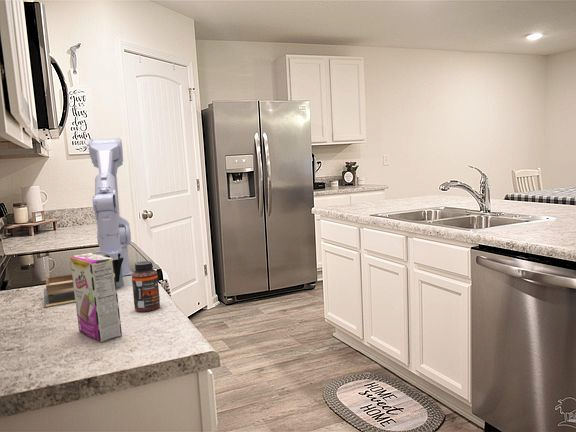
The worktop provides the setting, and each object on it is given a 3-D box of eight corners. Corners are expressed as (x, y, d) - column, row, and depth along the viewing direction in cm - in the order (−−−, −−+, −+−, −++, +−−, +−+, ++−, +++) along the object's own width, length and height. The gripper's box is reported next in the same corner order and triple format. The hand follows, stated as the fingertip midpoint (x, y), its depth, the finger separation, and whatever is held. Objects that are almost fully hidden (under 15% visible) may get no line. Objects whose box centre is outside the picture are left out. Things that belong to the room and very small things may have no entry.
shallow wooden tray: (48, 294, 134) (46, 278, 133) (90, 287, 138) (88, 271, 138) (48, 304, 124) (45, 286, 123) (93, 296, 129) (91, 279, 128)
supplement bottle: (145, 313, 112) (140, 266, 111) (129, 310, 115) (124, 264, 114) (165, 306, 117) (161, 260, 115) (150, 303, 120) (145, 259, 119)
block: (105, 285, 142) (103, 265, 141) (121, 283, 144) (119, 263, 143) (107, 288, 138) (105, 268, 137) (123, 286, 140) (121, 265, 139)
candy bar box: (77, 331, 102) (68, 256, 100) (100, 325, 106) (92, 251, 104) (99, 344, 94) (89, 262, 92) (123, 336, 98) (114, 257, 96)
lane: (44, 289, 142) (44, 288, 142) (91, 282, 147) (91, 280, 147) (44, 308, 122) (43, 306, 122) (98, 298, 128) (98, 297, 128)
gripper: (92, 233, 144) (97, 277, 145) (96, 239, 131) (102, 288, 133) (116, 230, 147) (121, 274, 149) (123, 236, 134) (128, 283, 136)
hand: (114, 280), depth 141 cm, fingers closed on block, 4 cm apart
